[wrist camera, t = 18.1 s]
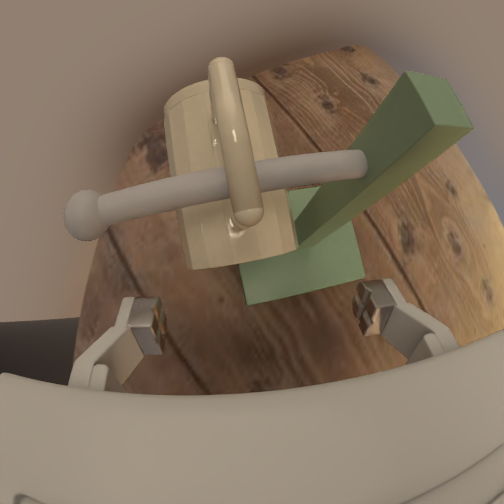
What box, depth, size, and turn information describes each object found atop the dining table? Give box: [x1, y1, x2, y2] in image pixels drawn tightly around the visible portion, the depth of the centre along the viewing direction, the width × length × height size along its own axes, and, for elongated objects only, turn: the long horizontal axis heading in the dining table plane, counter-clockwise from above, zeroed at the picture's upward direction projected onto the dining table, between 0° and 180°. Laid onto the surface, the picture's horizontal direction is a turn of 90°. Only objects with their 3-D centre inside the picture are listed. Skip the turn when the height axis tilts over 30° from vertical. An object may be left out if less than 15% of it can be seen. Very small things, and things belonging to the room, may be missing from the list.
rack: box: [64, 71, 474, 306], centre depth 17 cm, size 19×10×23 cm, turn 102°
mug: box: [164, 57, 299, 270], centre depth 14 cm, size 12×7×10 cm
